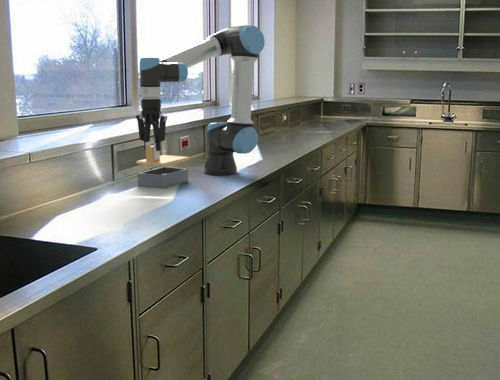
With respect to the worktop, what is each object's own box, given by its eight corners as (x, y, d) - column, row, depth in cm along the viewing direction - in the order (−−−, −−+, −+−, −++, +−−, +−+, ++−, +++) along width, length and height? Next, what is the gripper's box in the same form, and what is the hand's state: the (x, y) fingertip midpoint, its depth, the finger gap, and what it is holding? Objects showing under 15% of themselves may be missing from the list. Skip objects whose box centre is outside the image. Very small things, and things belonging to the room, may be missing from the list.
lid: (163, 159, 247) (163, 140, 246) (189, 161, 242) (189, 142, 240) (136, 165, 231) (135, 145, 229) (162, 168, 225) (162, 147, 224)
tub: (164, 180, 248) (163, 166, 247) (188, 183, 243) (187, 168, 242) (138, 187, 233) (137, 173, 231) (163, 190, 227) (162, 175, 226)
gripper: (127, 98, 225) (130, 158, 230) (162, 99, 218) (164, 161, 223) (139, 97, 232) (142, 156, 236) (173, 98, 224) (175, 158, 229)
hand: (152, 158), depth 229 cm, fingers closed on lid, 3 cm apart
